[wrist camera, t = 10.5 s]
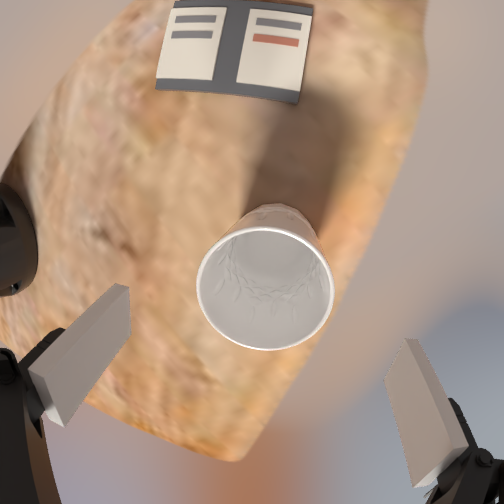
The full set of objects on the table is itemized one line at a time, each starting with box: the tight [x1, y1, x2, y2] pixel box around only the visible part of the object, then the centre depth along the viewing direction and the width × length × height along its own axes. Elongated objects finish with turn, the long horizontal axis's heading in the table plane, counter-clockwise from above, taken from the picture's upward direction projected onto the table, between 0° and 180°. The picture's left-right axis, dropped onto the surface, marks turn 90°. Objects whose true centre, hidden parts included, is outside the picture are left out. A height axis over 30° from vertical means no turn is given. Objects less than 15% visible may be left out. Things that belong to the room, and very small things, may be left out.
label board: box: [155, 0, 313, 105], centre depth 20 cm, size 12×9×1 cm
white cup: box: [196, 203, 335, 350], centre depth 22 cm, size 8×8×10 cm
